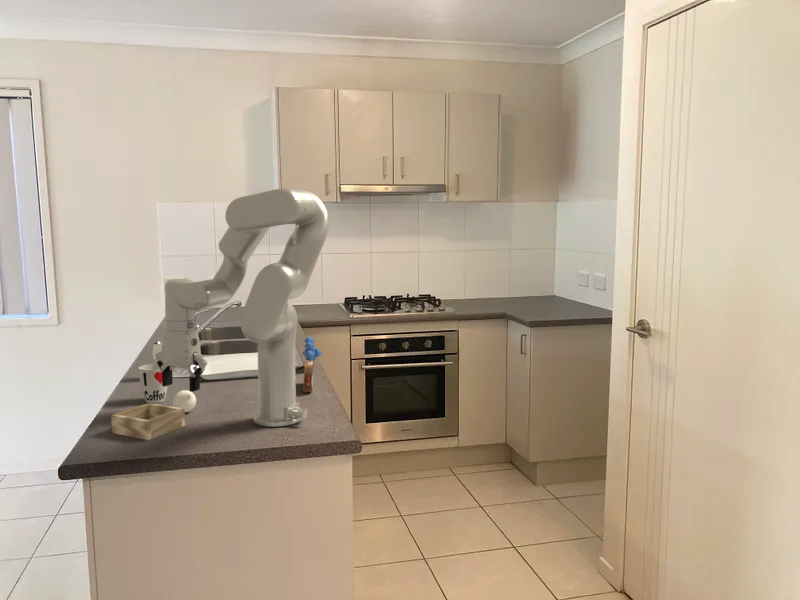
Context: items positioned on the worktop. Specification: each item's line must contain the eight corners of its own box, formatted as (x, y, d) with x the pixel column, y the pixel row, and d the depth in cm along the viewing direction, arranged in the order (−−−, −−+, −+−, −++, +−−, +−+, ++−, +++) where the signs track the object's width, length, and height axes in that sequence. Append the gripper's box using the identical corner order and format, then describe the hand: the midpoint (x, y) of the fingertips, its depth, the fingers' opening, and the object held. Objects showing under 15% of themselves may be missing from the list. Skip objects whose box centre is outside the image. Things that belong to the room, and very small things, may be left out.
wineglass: (174, 376, 216) (173, 341, 215) (169, 381, 211) (167, 344, 209) (157, 377, 216) (155, 341, 215) (151, 381, 210) (149, 344, 209)
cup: (138, 405, 183) (136, 370, 182) (141, 397, 191) (140, 364, 190) (169, 403, 185) (167, 368, 184) (171, 395, 193) (169, 362, 192)
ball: (201, 410, 178) (200, 389, 178) (185, 416, 173) (184, 394, 172) (184, 407, 181) (183, 386, 180) (168, 413, 176) (167, 391, 175)
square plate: (196, 366, 233) (196, 356, 233) (273, 361, 242) (273, 350, 242) (199, 384, 208) (199, 372, 207) (285, 377, 217) (285, 366, 216)
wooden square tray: (184, 425, 165) (184, 408, 165) (148, 440, 154) (147, 421, 154) (149, 419, 170) (149, 402, 170) (112, 433, 160) (111, 415, 159)
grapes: (322, 373, 221) (322, 338, 220) (302, 374, 220) (301, 339, 219) (322, 365, 233) (321, 332, 231) (303, 366, 232) (302, 333, 230)
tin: (305, 383, 208) (304, 357, 207) (315, 382, 209) (314, 357, 208) (302, 395, 194) (302, 368, 192) (313, 395, 194) (312, 367, 193)
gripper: (215, 327, 174) (215, 389, 176) (166, 320, 181) (167, 380, 183) (195, 331, 167) (195, 396, 169) (145, 324, 174) (146, 386, 177)
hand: (180, 387), depth 176 cm, fingers open, 9 cm apart
